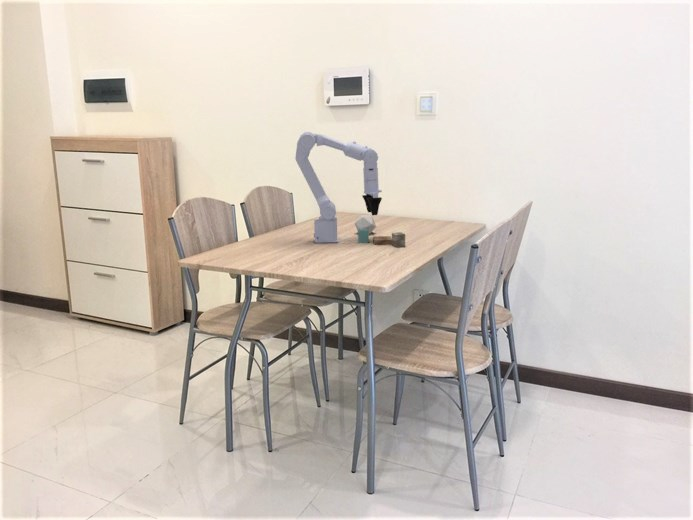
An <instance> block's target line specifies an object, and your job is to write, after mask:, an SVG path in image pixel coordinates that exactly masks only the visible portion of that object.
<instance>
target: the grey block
mask: <svg viewBox="0 0 693 520" xmlns="http://www.w3.org/2000/svg"><path fill="white" fill-rule="evenodd" d="M391 238H392V245H391V246H392V247H393V248H405V247H406V233H404V232H402V231H399V232H391Z"/></svg>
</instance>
